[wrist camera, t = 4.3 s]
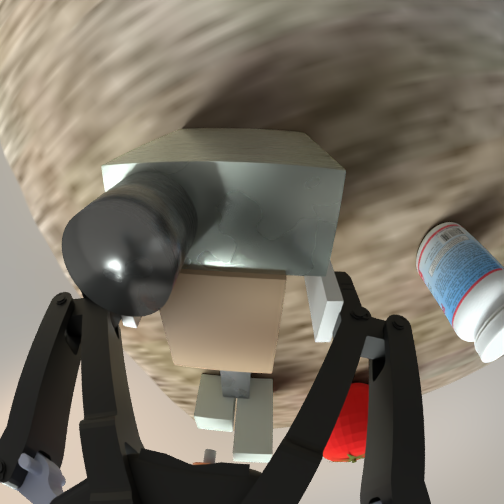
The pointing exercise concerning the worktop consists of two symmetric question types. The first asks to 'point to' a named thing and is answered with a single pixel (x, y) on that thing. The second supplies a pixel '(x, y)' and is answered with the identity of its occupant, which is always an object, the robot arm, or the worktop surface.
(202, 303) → the block
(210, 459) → the cylinder
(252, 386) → the pale stepped block
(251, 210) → the rail
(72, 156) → the worktop surface
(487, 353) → the pill bottle
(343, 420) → the tomato
